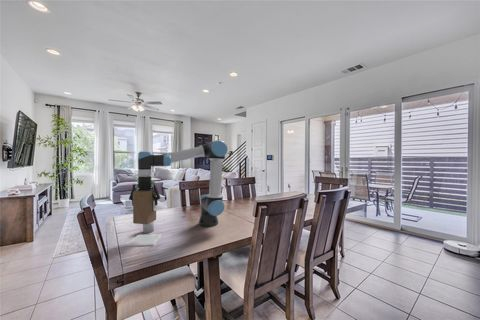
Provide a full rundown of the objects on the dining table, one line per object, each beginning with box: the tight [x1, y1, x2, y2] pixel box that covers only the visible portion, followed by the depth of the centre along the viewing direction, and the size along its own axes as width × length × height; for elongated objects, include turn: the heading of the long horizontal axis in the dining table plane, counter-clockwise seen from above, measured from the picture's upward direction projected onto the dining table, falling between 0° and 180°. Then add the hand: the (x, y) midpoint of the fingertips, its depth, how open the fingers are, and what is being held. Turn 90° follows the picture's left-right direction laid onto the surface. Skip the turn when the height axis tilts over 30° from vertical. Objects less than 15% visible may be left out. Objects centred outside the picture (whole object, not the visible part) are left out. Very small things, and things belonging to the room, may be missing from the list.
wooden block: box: [132, 188, 157, 225], centre depth 128 cm, size 10×10×20 cm
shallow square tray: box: [125, 233, 163, 247], centre depth 129 cm, size 16×16×1 cm
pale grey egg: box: [142, 221, 155, 234], centre depth 144 cm, size 7×7×8 cm
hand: (145, 210), depth 128 cm, fingers closed on wooden block, 11 cm apart
